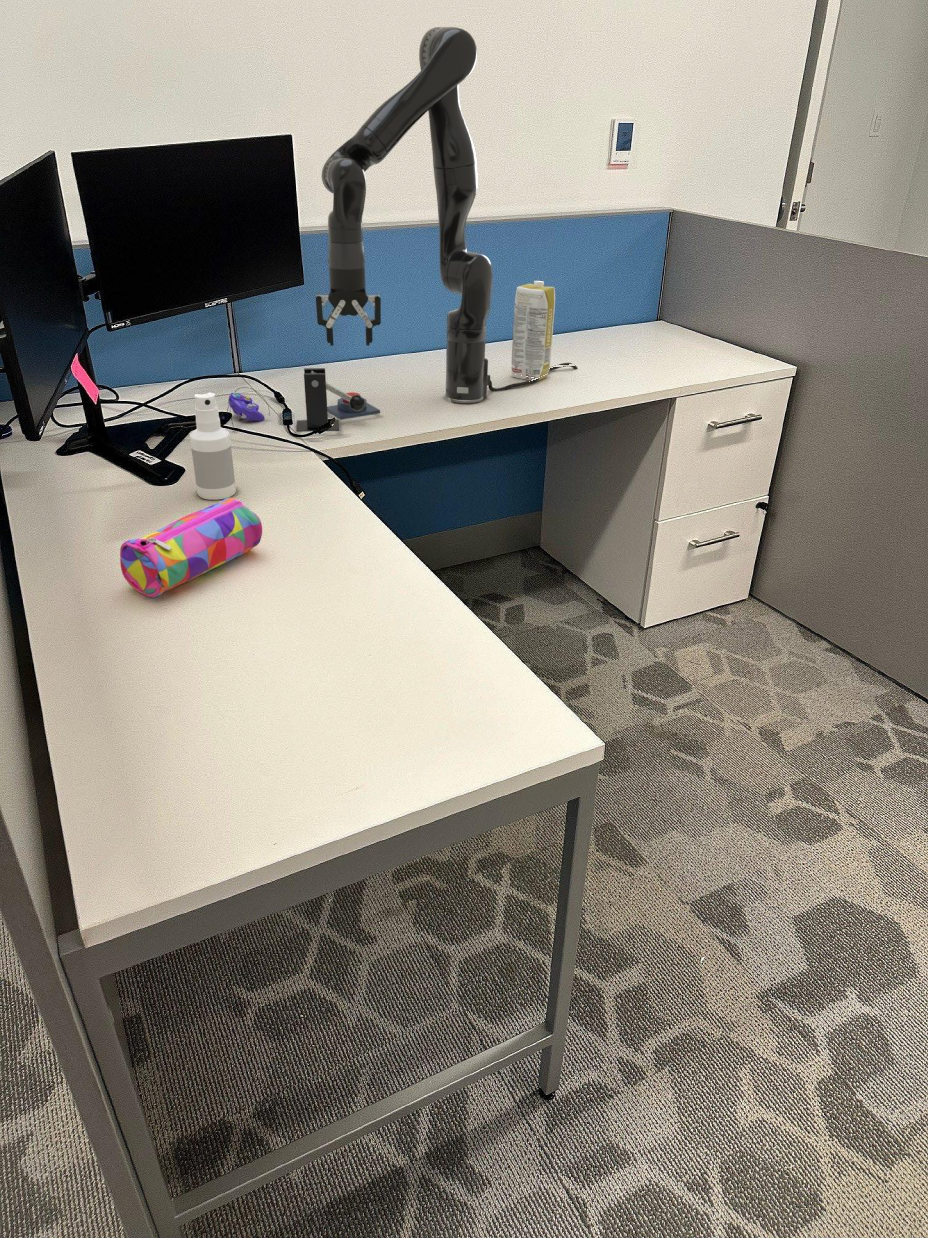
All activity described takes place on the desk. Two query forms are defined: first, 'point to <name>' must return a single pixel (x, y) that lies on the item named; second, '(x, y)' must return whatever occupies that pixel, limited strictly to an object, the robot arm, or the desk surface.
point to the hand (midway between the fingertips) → (350, 344)
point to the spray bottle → (211, 451)
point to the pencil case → (189, 547)
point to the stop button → (351, 396)
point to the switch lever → (348, 397)
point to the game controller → (244, 407)
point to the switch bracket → (315, 402)
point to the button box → (350, 410)
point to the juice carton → (532, 330)
